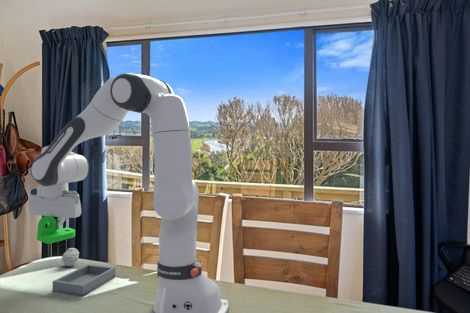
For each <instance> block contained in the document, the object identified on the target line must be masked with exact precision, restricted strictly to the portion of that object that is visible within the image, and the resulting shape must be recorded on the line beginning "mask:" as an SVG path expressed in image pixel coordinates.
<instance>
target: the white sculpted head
mask: <svg viewBox="0 0 470 313" xmlns="http://www.w3.org/2000/svg"><path fill="white" fill-rule="evenodd" d="M79 256H80V252H79V250H78V249H77V248H75V247H70V248H67V250H66V251H65V252H64V253H63V255H62V256H61V262H63V265H64V266H65V267H73V266H75V265H76V263H77V262H78V259H79V258H80V257H79Z"/></svg>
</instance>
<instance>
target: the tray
mask: <svg viewBox="0 0 470 313" xmlns="http://www.w3.org/2000/svg"><path fill="white" fill-rule="evenodd" d="M115 278H116V267H113V266H106V265H97V264H91V263H87V264H85V265H83V266H81V267H79V268H78V269H75V270H73V271H70V272H69V273H67V274H65V275H63V276H61V277H59V278H56V279H55V280H52V293H58V294H65V295H70V296H71V295H72V296H77V297H85V296H87V295H88V294H90V293H91V292H93V291H95V290H96V289H98V288H99V287H101V286H103V285H105V284H106V283H108V282H109V281H111V280H113V279H115Z"/></svg>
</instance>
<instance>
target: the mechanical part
mask: <svg viewBox="0 0 470 313" xmlns="http://www.w3.org/2000/svg"><path fill="white" fill-rule="evenodd" d="M47 222H49V225H48V224H47ZM56 224H57V220H56V218H55V217H53V216H52V217H50V216H41V218H39V221H38V223H37V233H36V241H39V242H41V243H44V244H47V245H50V244H54V243H58V242H60V241H61V242H62V241H65V240H70V239H72V238H75V236H76V229H74V228H71V227H63V228H62V229H56ZM46 225H47V226H46Z"/></svg>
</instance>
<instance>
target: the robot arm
mask: <svg viewBox="0 0 470 313" xmlns="http://www.w3.org/2000/svg"><path fill="white" fill-rule="evenodd" d="M128 112H133V113H139V114H141V113H142V114H143V113H144V114H147V115H148V117H149V118H150V123H151V133H152V144H153V145H152V146H153V153H154V154H153V156H154V176H153V199H152V206H153V209H154V211H155V213H156V214H157V215H158V216H159V217H160V218H161V222H160V229H159V234H158V261H157V264H156V265H157V267H156V270H157V271H156V272H157V273H156V276H157V279H158V280H157V289H156V294H155V295H156V296H155V300H154V304H153V308H152V311H153V313H228V310H229V308H230V307H229V301H228V300H227V299H223V298H222V294H221V289H220V287H219V285H218V284H217V283H216V282H214V281H213V280H211V279H210V277H208V276H207V275H206V274H204V272H203V267H204V262H205V261H202V262H201V263H200V261H198V258H197V229H198V228H197V227H198V216H199V215H198V214H199V197H200V196H199V192H200V191H199V188H198V185H197V184H196V182H195V181H194V180H193V152H192V151H193V150H192V148H193V147H192V140H191V139H192V137H191V130H190V129H191V128H190V121H189V116H188V113H187V112H188V111H187V108H186V104H185V102H184V100H183V99H182V97H180V96H178V95H176V94H175V93H174V90H173V88H172V87H171V85H169V84H168V83H167V82H165V81H163V80H161V79H157V78H154V77H151V76H149V75H144V74H136V73H133V72H126V73H121V74H118V75H117V76H115V77H114V76H113V77H110V78H109V79H107V80H106V81H105V82H104V83H103V84H102V85H101V87H100V88H99V89H98V90H97V92H96V93H95V95H94V96H93V97H92V99H91V101H90V103H89V104H88V105H87V106H86V107H85V109H83V111H82V112H80V113H79V114H78V115H77V116H76V117H74V118H71V120H70V121H68V122H67V124H66V125H65V126H64V127H63V128H62V129H61V131H59V133H58V134H57V135H56V137H55V138H54V139H53V140H52V142H51V143H50V144H48V145H45V146H44V147H42V148H41V152H40V154H39V155H37V157H36V158H35V159H34V161H32V164H31V167H30V175H31V177H32V178H33V180H34V181H35V182H36V183H38V184H39V185H37V186H36V187H32V188H30V189H28V195H29V197H28V203H27V204H28V213H29V214H30V215H31V216H41V217H44V216H50V217H53V218H55V217H56V218H57V220H58V222H57V223H56V230H59V229H63V228H64V222H65V221H66V218H69V219H76V218H78V217H80V216H81V214H82V204H81V200H80V195H79V193H78V192H77V191H76V190H69V183H75V182H79V181H83V180H85V179H86V178H87V177H88V175H89V172H90V164H89V161H88V159H87V157H85V156H84V155H82V154H78V153H75V152H73V150H74V149H75V147H76V146H78V145H79V144H81V143H83V142H85V141H88V140H90V139H94V138H98V137H103V136H104V137H105V136H109V135H110V134H112V133H113V132H115V130H117V128H118V127H119V126H120V125H121V123H122V122H123V120H124V119H125V117H126V115H127V113H128ZM46 225H47V226H48V225H49V222H47V223H46Z"/></svg>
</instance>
